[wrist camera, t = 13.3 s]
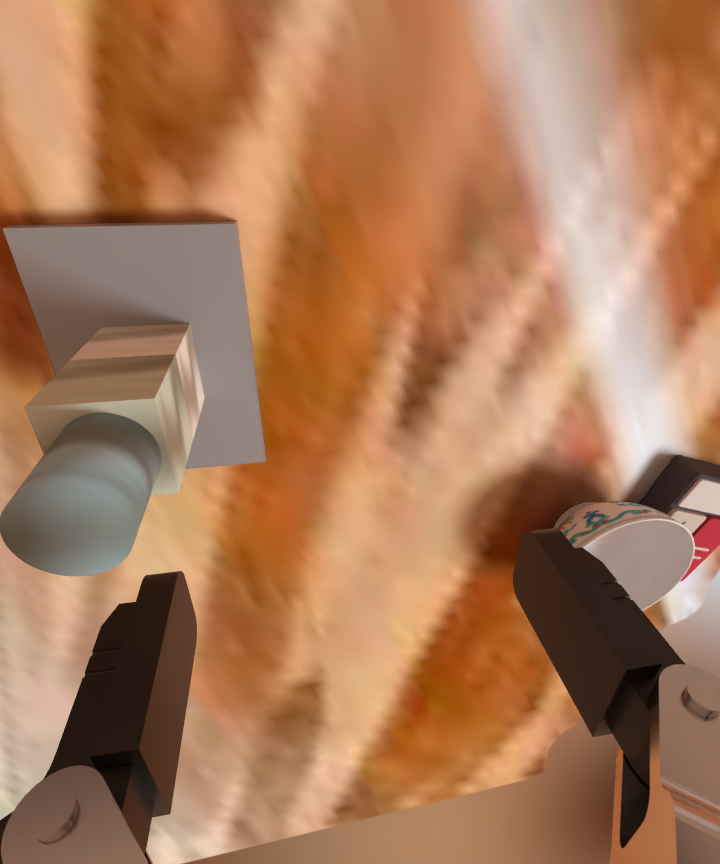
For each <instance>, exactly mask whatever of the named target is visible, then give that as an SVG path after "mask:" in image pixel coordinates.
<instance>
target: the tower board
mask: <svg viewBox="0 0 720 864" xmlns="http://www.w3.org/2000/svg"><path fill="white" fill-rule="evenodd" d="M3 231H4V234H5V236H6V239H7V242H8V245H9V247H10V250H11V253H12V256H13V258H14V261H15V264H16V267H17V269H18V272H19V275H20V278H21V280H22V283H23V286H24V289H25V291H26V294H27V297H28V300H29V302H30V305H31V308H32V311H33V313H34V316H35V319H36V322H37V324H38V327H39V330H40V333H41V335H42V338H43V341H44V344H45V346H46V349H47V352H48V355H49V357H50V360H51V363H52V366H53V368H54V371H55V374H57V373H58V372H59V371H60V370H61V369H62V368H63V367H64V366H65V364H66V363H67V362H68V361H69V360H71V359H72V357H73V356H74V355H75V354H76V353H77V352H78V351H79V350H80V349H81V348H82V347H83V346H84V345H85V344H86V343H87V342H88V341H89V340H90V339H91V338H92V337H93V336H94V335H95V334H96V333H97V332H98V330H99V329H100V328H104V327H125V326H146V325H167V324H187V323H190V325H191V330H192V335H193V341H194V346H195V351H196V356H197V362H198V367H199V372H200V377H201V383H202V388H203V393H204V402H203V405H202V409H201V413H200V417H199V420H198V424H197V428H196V431H195V435H194V438H193V442H192V445H191V449H190V453H189V456H188V460H187V464H186V467H185V469H191V468H202V467H213V466H224V465H235V464H247V463H258V462H265V446H264V437H263V429H262V421H261V413H260V405H259V397H258V389H257V381H256V373H255V365H254V357H253V348H252V340H251V332H250V324H249V316H248V308H247V300H246V292H245V284H244V276H243V268H242V260H241V251H240V243H239V235H238V227H237V221H205V222H151V223H98V224H44V225H12V226H9V227H5V228H3Z"/></svg>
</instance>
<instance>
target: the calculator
mask: <svg viewBox="0 0 720 864" xmlns="http://www.w3.org/2000/svg"><path fill="white" fill-rule="evenodd" d="M640 504H641V505H644V506H647V507H650V508H653V509H655V510H658V511H660V512H662V513H664V514H666V515H668V516H670V517H672V518H673V519H675V520H677V521H678V522H680V523H681V524H683V525H684V526H685V527H686V528H687V529H688V530H689V531H690V532H691V534H692V536H693V538H694V543H695V552H694V557H693V560H692V563H691V565H690V567H689V569H688V571H687V572H686V574H685V575H684V577H683V578H682V579H681V581H683V580H684V579H685V578H686V577H687V576H688V575H689V574H690V573H691V572H692V571H693V570H694V569H695V568H696V567H697V566H698V565H699V564H701V563H702V562H703V561H704V560H705V559H706V558H707V557H708V556H709V555H710V554H711V553H712V552H713V551H714V550H715V549H716V548H717V547H718V546H719V545H720V466H719V465H715V464H711V463H708V462H704V461H700V460H696V459H693V458H689V457H685V456H681V455H677V456H675V457H674V458H673V459H672V460H671V462H670V463H669V464H668V466H667V467H666V468H665V470H664V471H663V472H662V473H661V475H660V476H659V477H658V479H657V480H656V481H655V483H654V484H653V486H652V490H651V491H650V492H649V493H648V494H647V496H646V497H645V498H644V499H643V500H642V501H641V503H640Z"/></svg>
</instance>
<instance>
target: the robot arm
mask: <svg viewBox="0 0 720 864" xmlns="http://www.w3.org/2000/svg"><path fill="white" fill-rule="evenodd" d="M513 586H514V591H515V594H516V597H517V599H518V601H519V603H520V605H521V607H522V609H523V610H524V612H525V614H526V616H527V618H528V620H529V621H530V623H531V625H532V627H533V629H534V631H535V632H536V634H537V636H538V638H539V640H540V641H541V643H542V645H543V647H544V649H545V651H546V652H547V654H548V656H549V658H550V660H551V661H552V663H553V665H554V667H555V669H556V671H557V672H558V674H559V676H560V678H561V680H562V682H563V683H564V685H565V687H566V689H567V691H568V692H569V694H570V696H571V698H572V700H573V702H574V703H575V705H576V707H577V709H578V711H579V713H580V714H581V716H582V718H583V720H584V721H585V723H586V725H587V727H588V729H589V731H590V733H591V734H592V736H593V737H596V736H601V735H607V734H613V735H614V737H615V739H616V740H617V742H618V744H619V745H620V746H619V748H618V751H617V760H616V778H615V797H614V815H613V833H612V849H611V856H610V861H609V864H720V680H719V679H718V678H717V677H715V676H714V675H712V674H710V673H708V672H706V671H704V670H701V669H700V668H697V667H694V666H690V665H686V664H685V663H684V662H683V661H682V660H681V659H680V658H679V656H678V655H677V654H676V653H675V651H674V650H673V649H672V648H671V646H670V645H669V644H668V643H667V641H666V640H665V639H664V638H663V636H662V635H661V634H660V633H659V631H658V630H657V629H656V628H655V626H654V625H653V624H652V623H651V622H650V620H649V619H648V618H647V617H646V615H645V614H644V613H643V612H642V610H641V609H640V608H639V607H638V605H637V604H636V603H635V602H634V600H631V599H630V595H629V594H628V593H627V592H626V590H625V589H624V588H623V587H622V586H621V584H618V582H617V579H616V578H615V577H614V576H613V574H612V573H611V572H610V571H609V569H608V568H607V567H606V566H605V564H604V563H603V562H602V561H600V560H599V559H598V558H596V557H595V556H593V555H592V554H591V553H589V552H588V551H587V550H585V549H584V548H582V547H580V548H574V547H573V545H572V544H571V543H570V541H569V540H568V539H567V538H566V536H565V535H564V534H563V532H562V531H560V530H559V529H557V528H552V529H543V530H535V531H527V532H525V533H524V534H523V537H522V540H521V544H520V548H519V552H518V557H517V561H516V565H515V569H514V573H513ZM196 640H197V624H196V616H195V612H194V608H193V605H192V601H191V597H190V594H189V590H188V587H187V583H186V579H185V576H184V574H183V572H182V571H179V572H170V573H162V574H153V575H146V576H145V577H144V579H143V581H142V584H141V587H140V590H139V594H138V597H137V600H136V602H131V603H123V604H119V605H118V606H117V607H116V609H115V610H114V611H113V612H112V614H111V615H110V616H109V617H108V619H107V620H106V621H105V622H104V624H103V625H102V626H101V629H100V631H99V634H98V637H97V640H96V643H95V645H94V648H93V651H92V652H93V655H92V656H91V657H90V659H89V662H88V665H87V668H86V671H85V677H84V678H83V679H82V682H81V684H80V687H79V690H78V693H77V696H76V698H75V701H74V704H73V707H72V710H71V712H70V715H69V718H68V721H67V724H66V726H65V729H64V732H63V735H62V738H61V740H60V743H59V746H58V749H57V752H56V754H55V757H54V760H53V762H52V764H51V767H50V769H49V770H48V772H47V774H46V776H45V777H44V779H43V780H42V781H40V782H39V783H38V784H37V785H36V786H34V787H33V788H32V789H31V790H30V791H29V792H28V793H27V794H26V795H25V796H24V798H23V799H22V800H21V801H20V803H19V804H18V805H17V807H16V808H15V810H14V811H13V812H12V813H10V814H9V815H7V816H6V817H4V818H3V819H1V820H0V864H153V863H152V861H151V859H150V857H149V855H148V853H147V851H146V847H147V841H148V836H149V830H150V824H151V819H152V817H157V816H162V815H167V814H170V812H171V806H172V799H173V792H174V786H175V779H176V773H177V766H178V760H179V753H180V747H181V740H182V733H183V727H184V720H185V714H186V707H187V701H188V694H189V688H190V681H191V674H192V668H193V661H194V655H195V648H196Z"/></svg>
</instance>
